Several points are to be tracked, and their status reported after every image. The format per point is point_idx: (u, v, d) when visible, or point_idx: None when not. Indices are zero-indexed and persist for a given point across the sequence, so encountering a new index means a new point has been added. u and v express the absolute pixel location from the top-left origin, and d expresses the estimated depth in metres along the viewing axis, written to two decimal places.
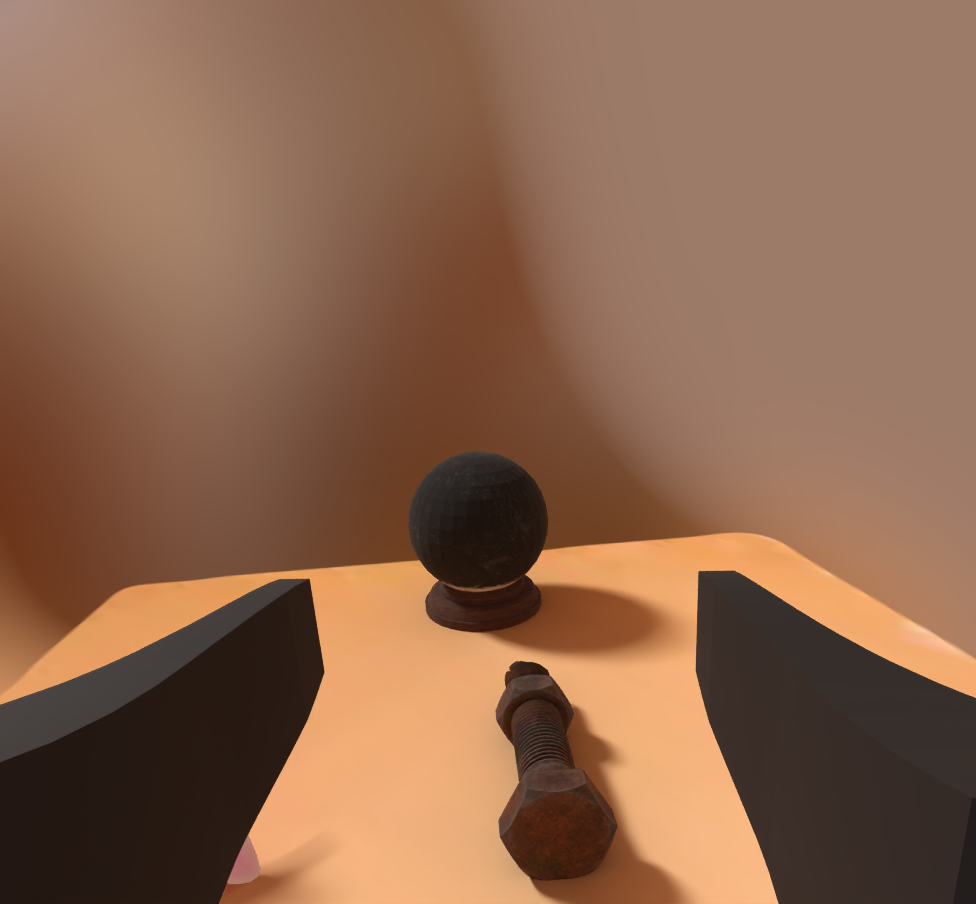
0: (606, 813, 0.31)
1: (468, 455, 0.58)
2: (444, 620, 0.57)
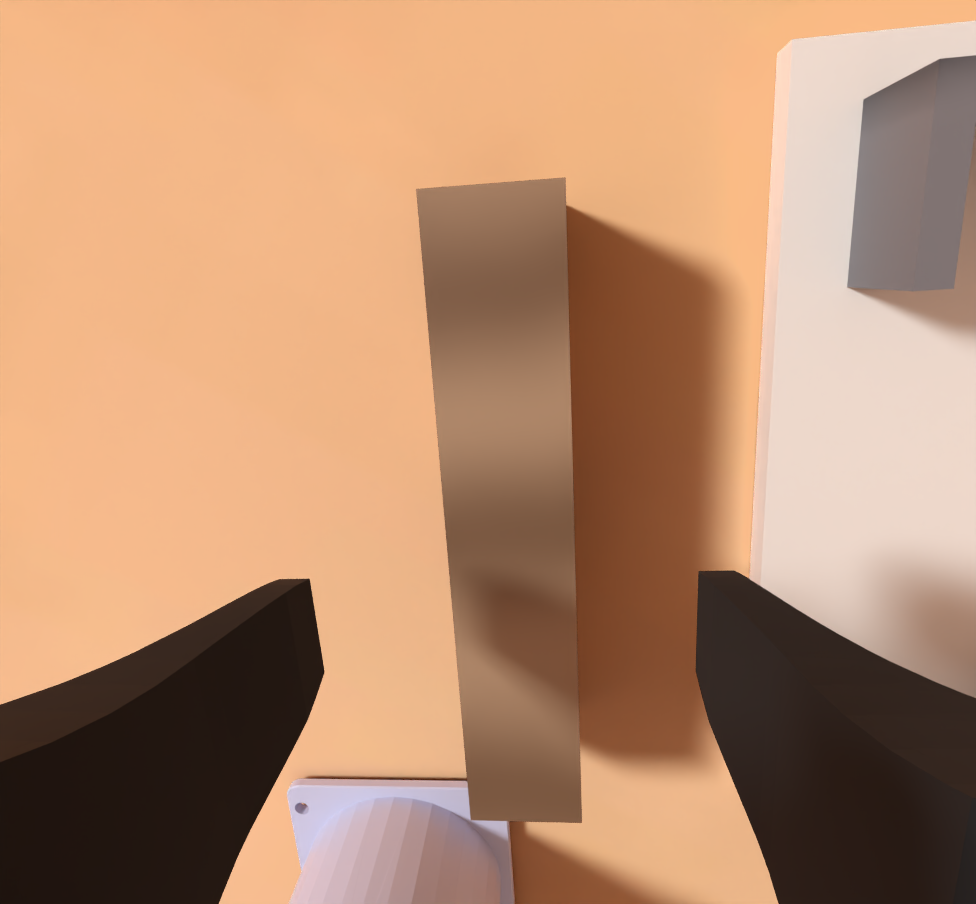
0: None
1: None
2: None
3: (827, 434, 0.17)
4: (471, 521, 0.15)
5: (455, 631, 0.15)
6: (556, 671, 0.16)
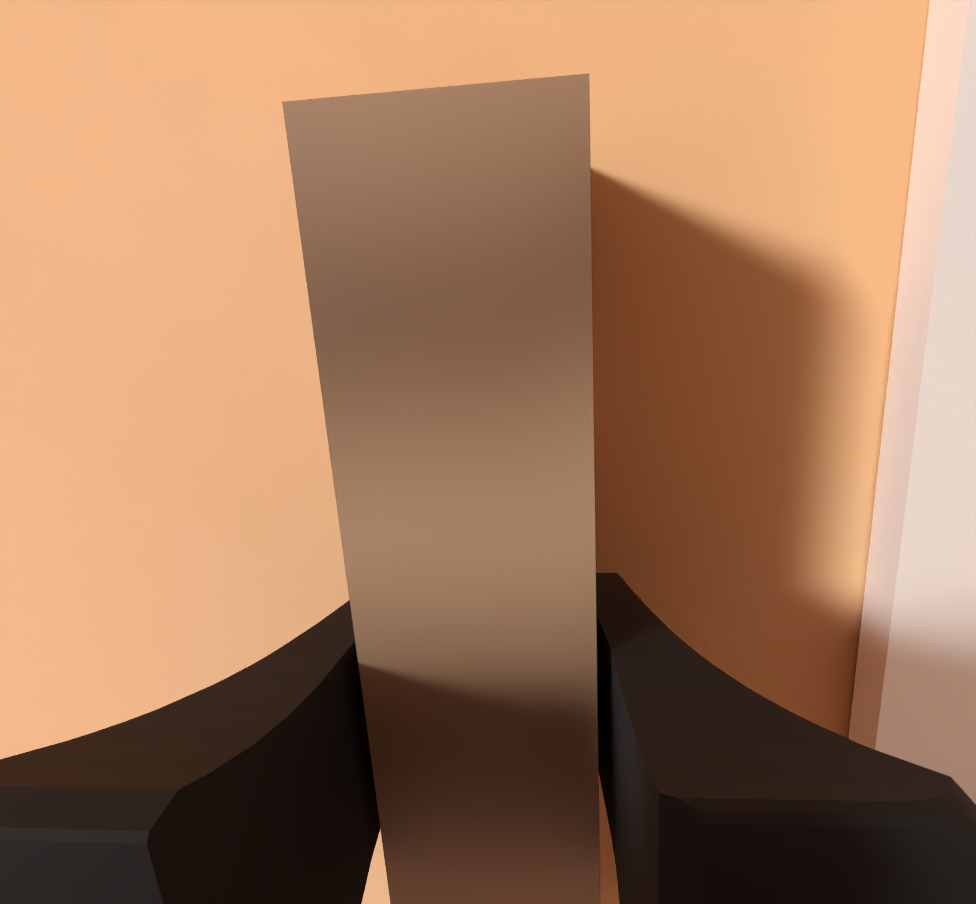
0: None
1: None
2: None
3: None
4: (412, 719, 0.08)
5: (390, 889, 0.09)
6: None
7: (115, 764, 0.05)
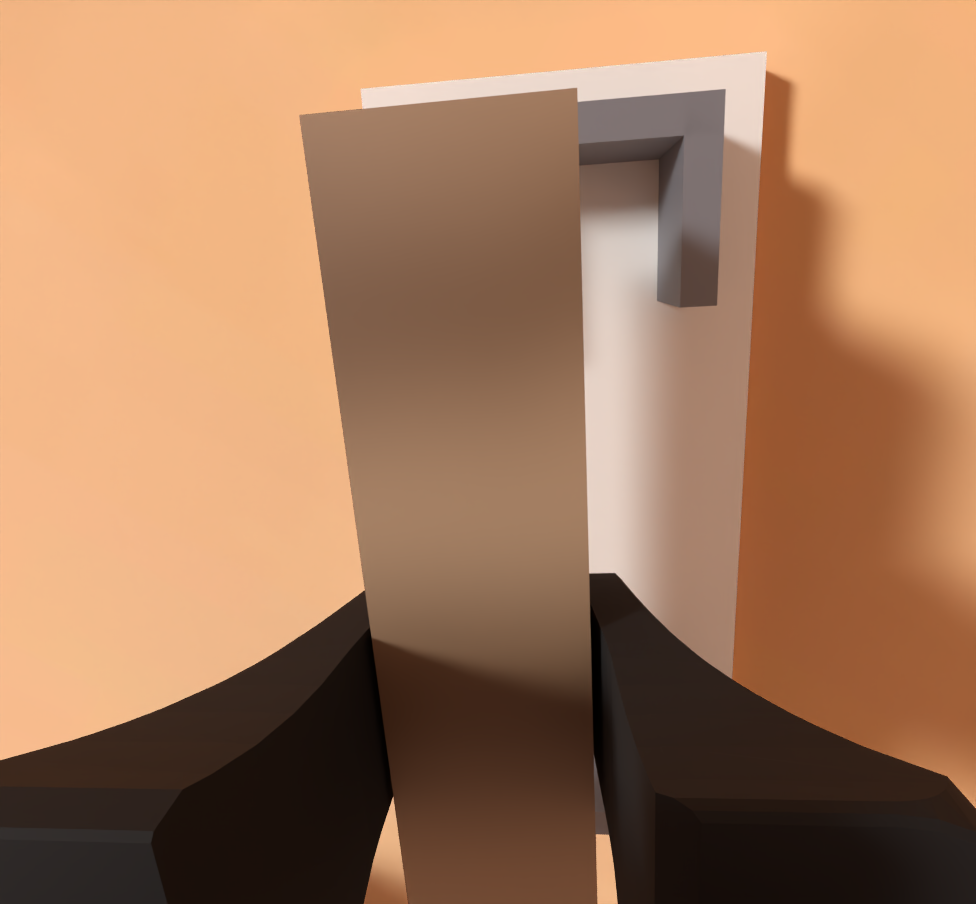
0: None
1: None
2: None
3: None
4: (421, 682, 0.09)
5: (401, 843, 0.10)
6: (562, 903, 0.10)
7: (116, 765, 0.05)
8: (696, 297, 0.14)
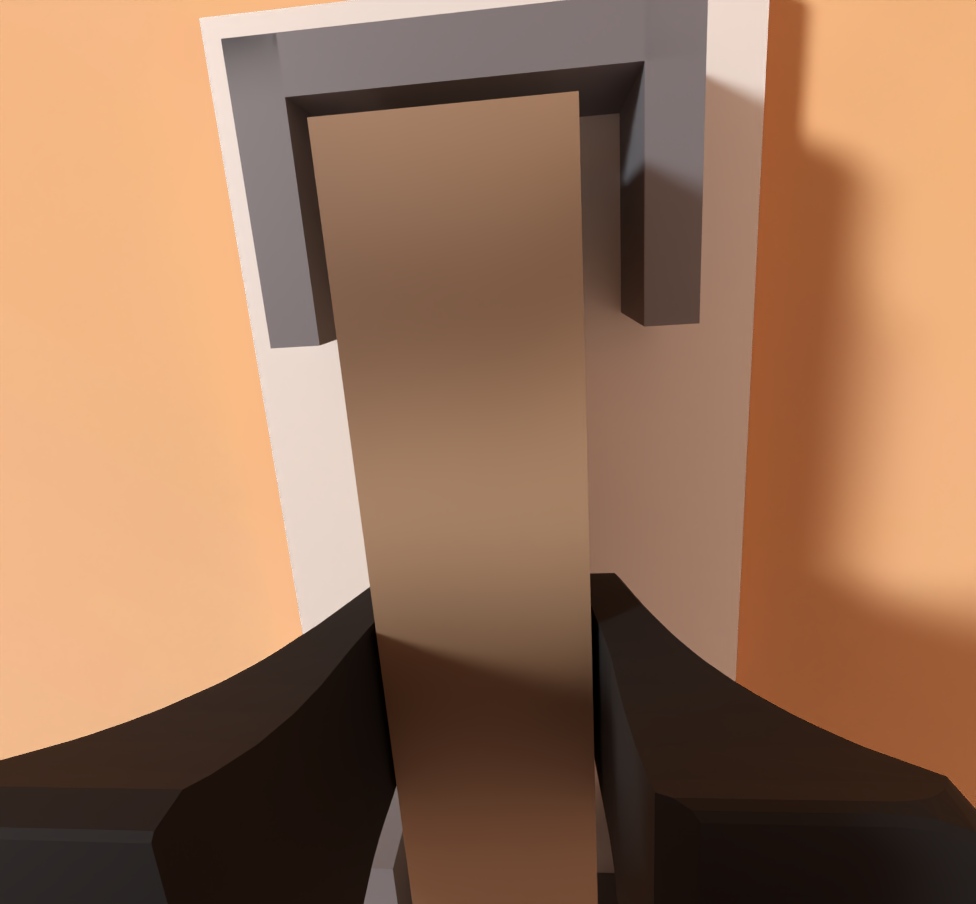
0: None
1: None
2: None
3: (348, 507, 0.14)
4: (424, 675, 0.09)
5: (404, 834, 0.10)
6: (563, 894, 0.10)
7: (118, 765, 0.05)
8: (668, 311, 0.09)
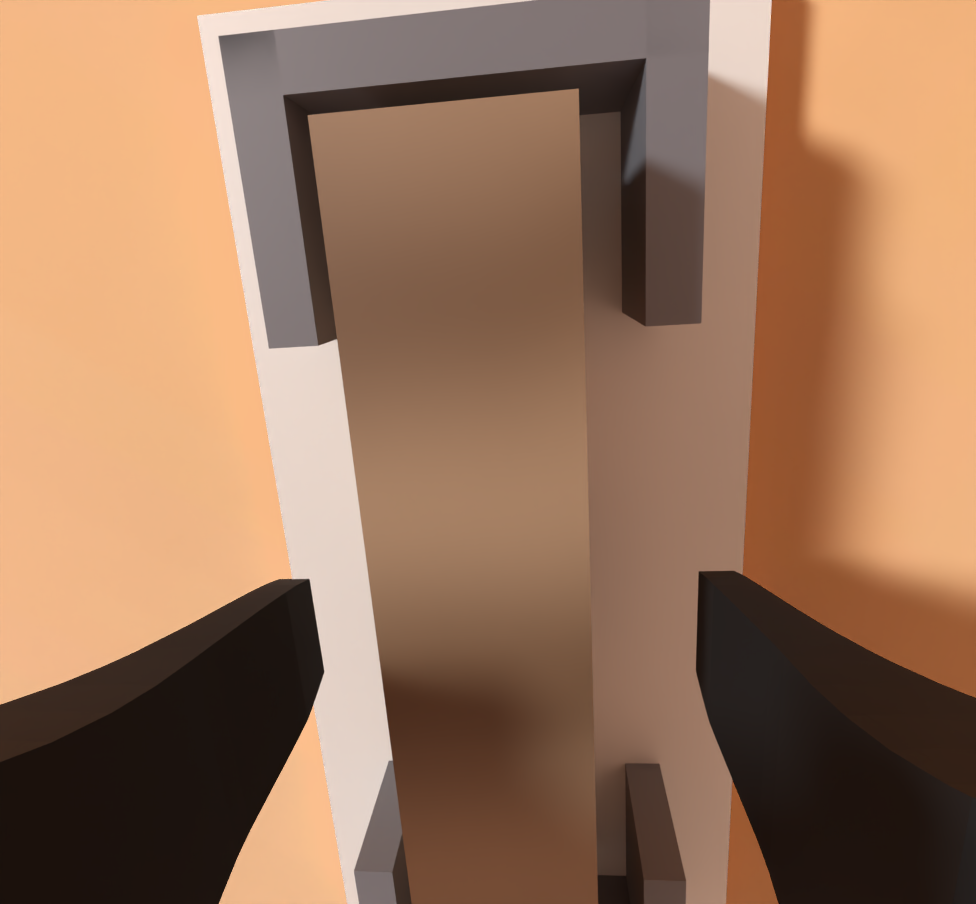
0: None
1: None
2: None
3: (347, 508, 0.14)
4: (424, 675, 0.09)
5: (404, 835, 0.10)
6: (563, 895, 0.10)
7: None
8: (670, 311, 0.09)
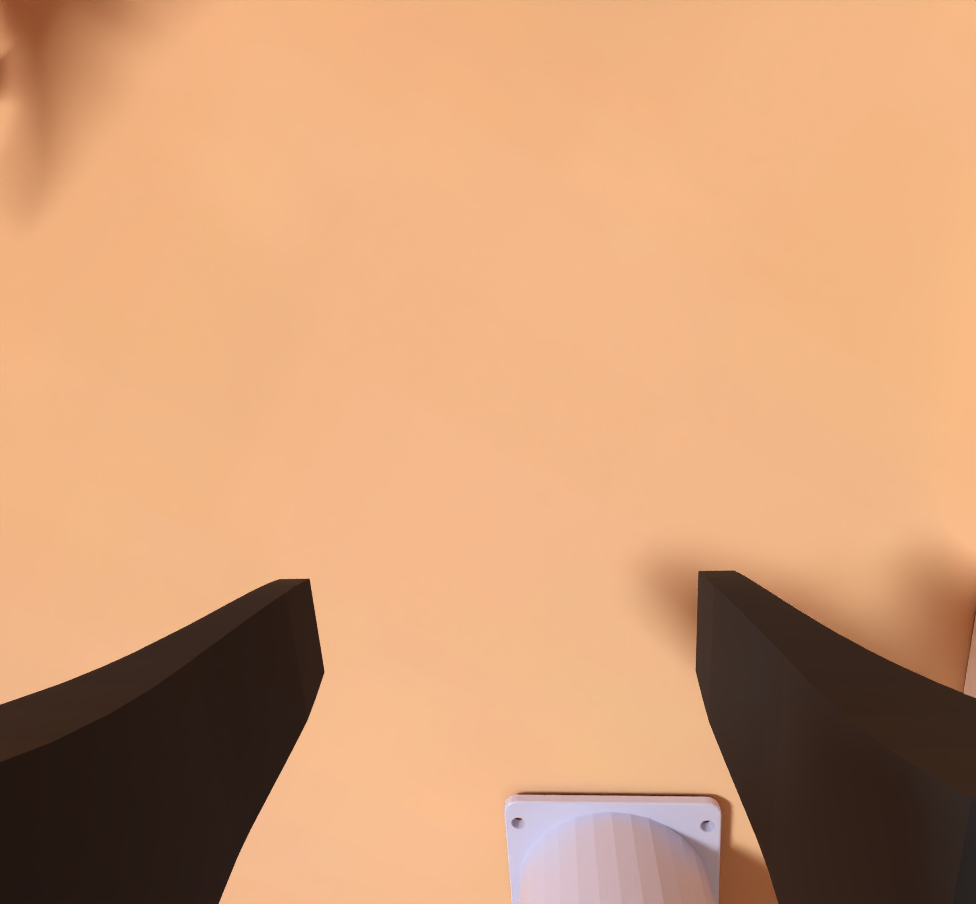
0: None
1: None
2: None
3: None
4: None
5: None
6: None
7: None
8: None
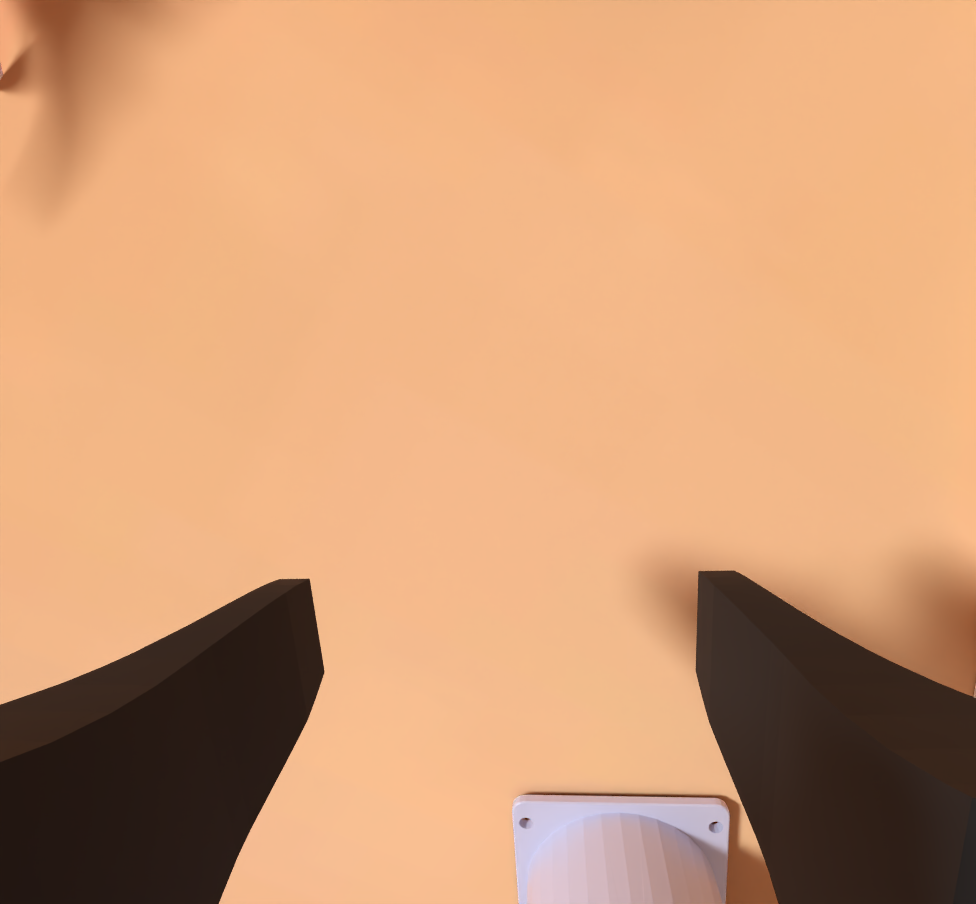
0: None
1: None
2: None
3: None
4: None
5: None
6: None
7: None
8: None
